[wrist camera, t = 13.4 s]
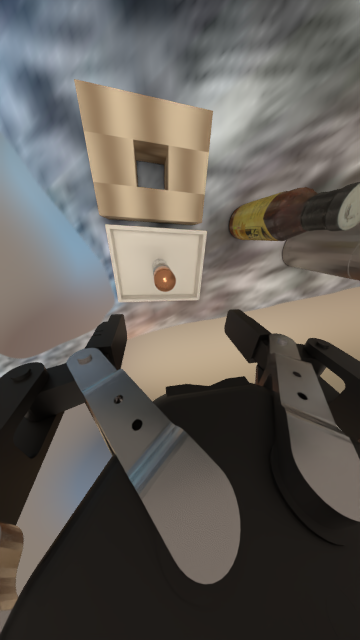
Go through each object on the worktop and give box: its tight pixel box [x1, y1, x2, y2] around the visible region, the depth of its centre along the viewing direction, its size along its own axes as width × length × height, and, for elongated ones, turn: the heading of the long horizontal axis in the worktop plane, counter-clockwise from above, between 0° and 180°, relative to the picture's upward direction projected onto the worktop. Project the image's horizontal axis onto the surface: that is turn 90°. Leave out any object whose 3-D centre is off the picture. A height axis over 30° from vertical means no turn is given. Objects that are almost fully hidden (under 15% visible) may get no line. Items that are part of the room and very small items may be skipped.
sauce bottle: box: [229, 182, 360, 241], centre depth 23 cm, size 6×6×20 cm
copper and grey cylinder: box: [152, 259, 176, 292], centre depth 26 cm, size 3×3×12 cm
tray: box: [105, 224, 207, 302], centre depth 31 cm, size 18×14×4 cm
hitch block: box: [74, 79, 213, 225], centre depth 23 cm, size 16×12×6 cm
